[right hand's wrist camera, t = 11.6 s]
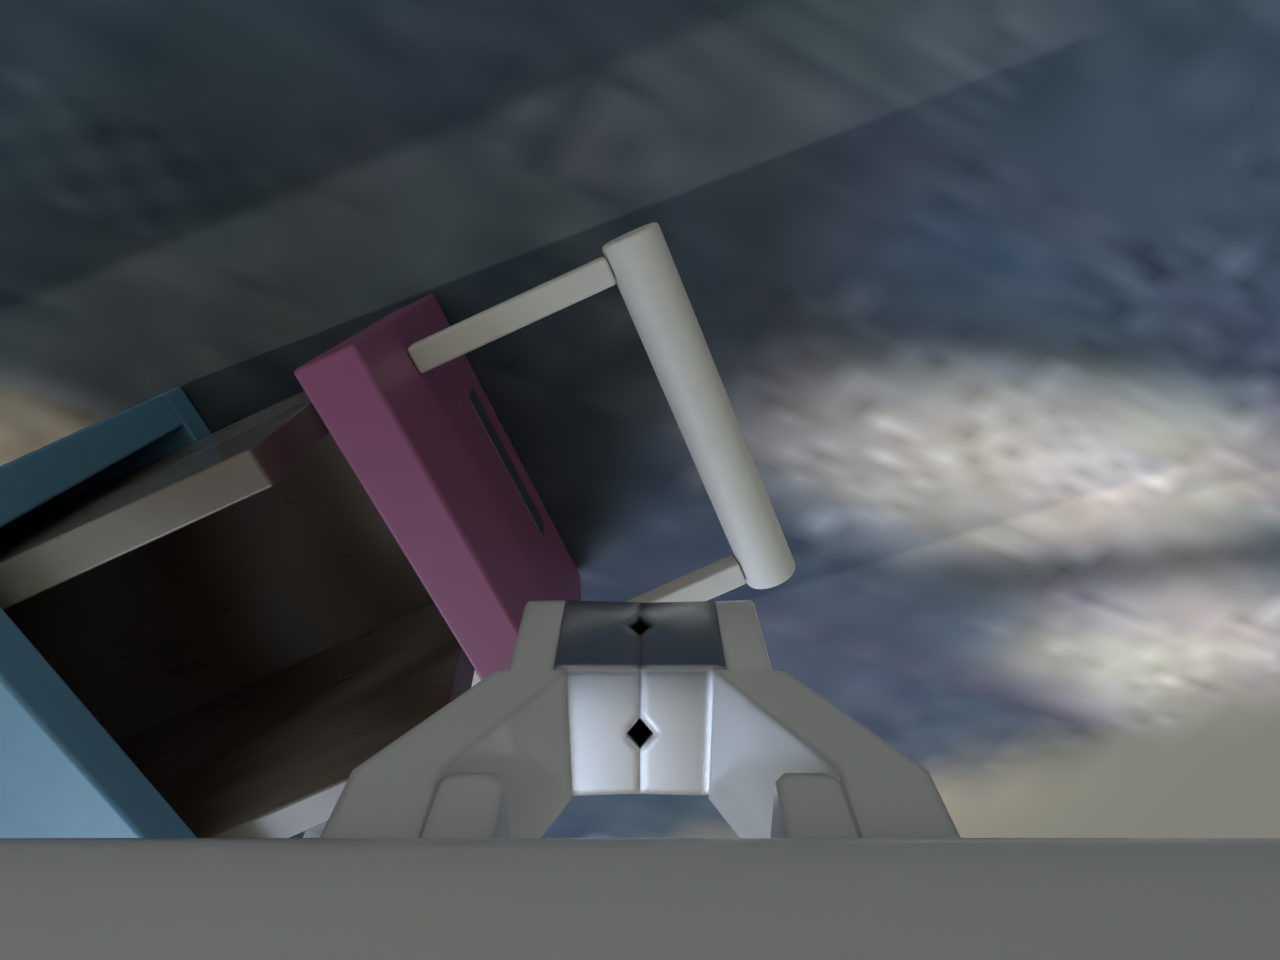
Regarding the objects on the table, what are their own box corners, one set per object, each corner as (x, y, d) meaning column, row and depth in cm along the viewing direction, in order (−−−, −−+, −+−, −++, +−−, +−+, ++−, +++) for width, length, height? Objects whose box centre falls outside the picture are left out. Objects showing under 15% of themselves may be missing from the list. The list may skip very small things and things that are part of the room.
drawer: (626, 203, 21) (669, 196, 13) (748, 500, 24) (847, 647, 16) (-72, 526, 22) (-450, 714, 14) (136, 770, 25) (-68, 1040, 17)
